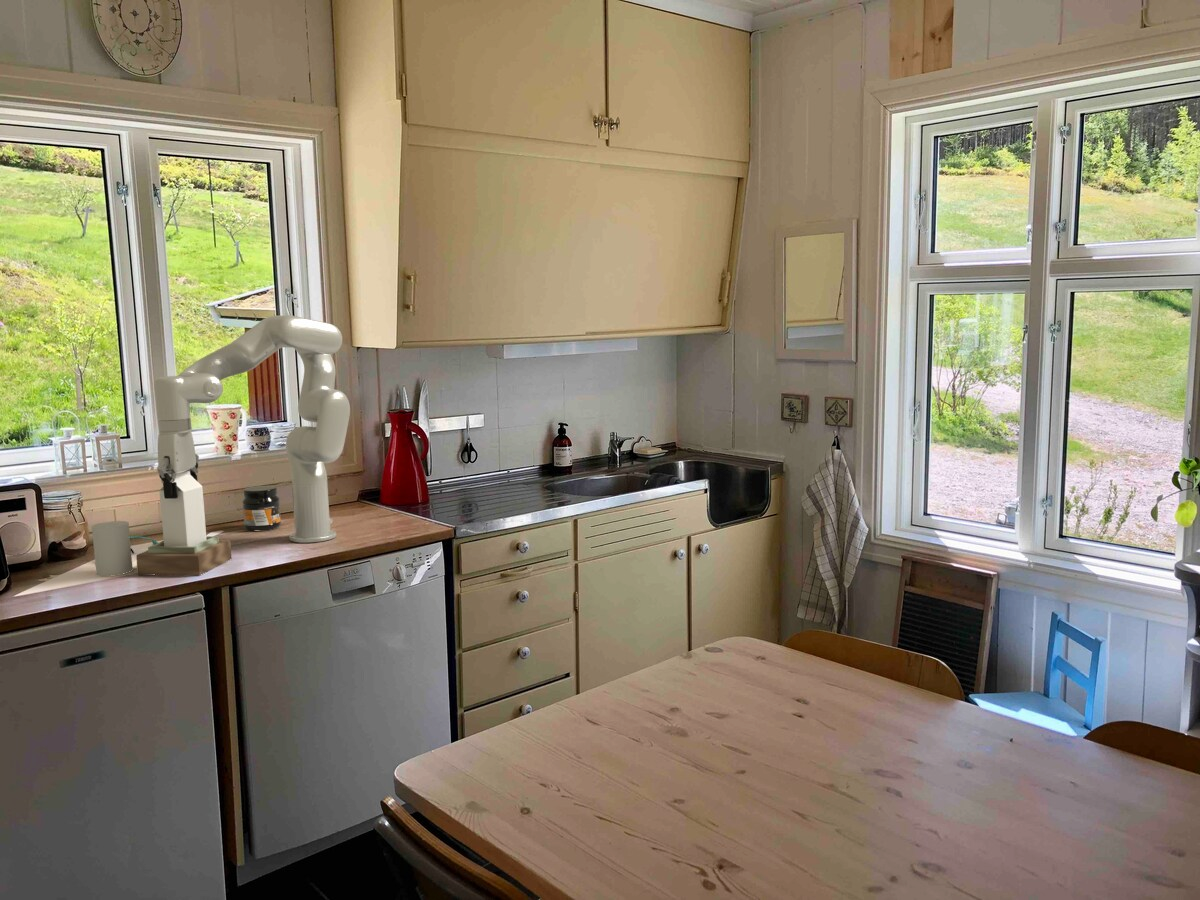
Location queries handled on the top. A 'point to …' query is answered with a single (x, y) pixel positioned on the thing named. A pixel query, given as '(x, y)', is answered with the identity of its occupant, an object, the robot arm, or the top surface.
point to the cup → (112, 548)
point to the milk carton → (184, 513)
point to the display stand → (184, 558)
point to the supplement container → (261, 508)
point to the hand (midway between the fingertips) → (181, 494)
